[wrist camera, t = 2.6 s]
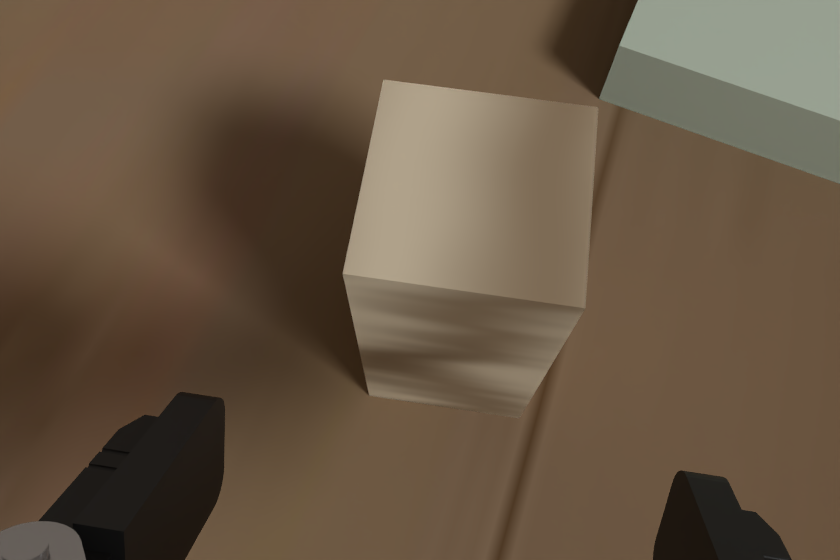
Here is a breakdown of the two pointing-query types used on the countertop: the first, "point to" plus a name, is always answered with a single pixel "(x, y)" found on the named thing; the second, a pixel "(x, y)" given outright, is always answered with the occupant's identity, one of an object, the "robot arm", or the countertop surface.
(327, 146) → the countertop surface
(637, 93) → the base slab
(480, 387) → the maple block
